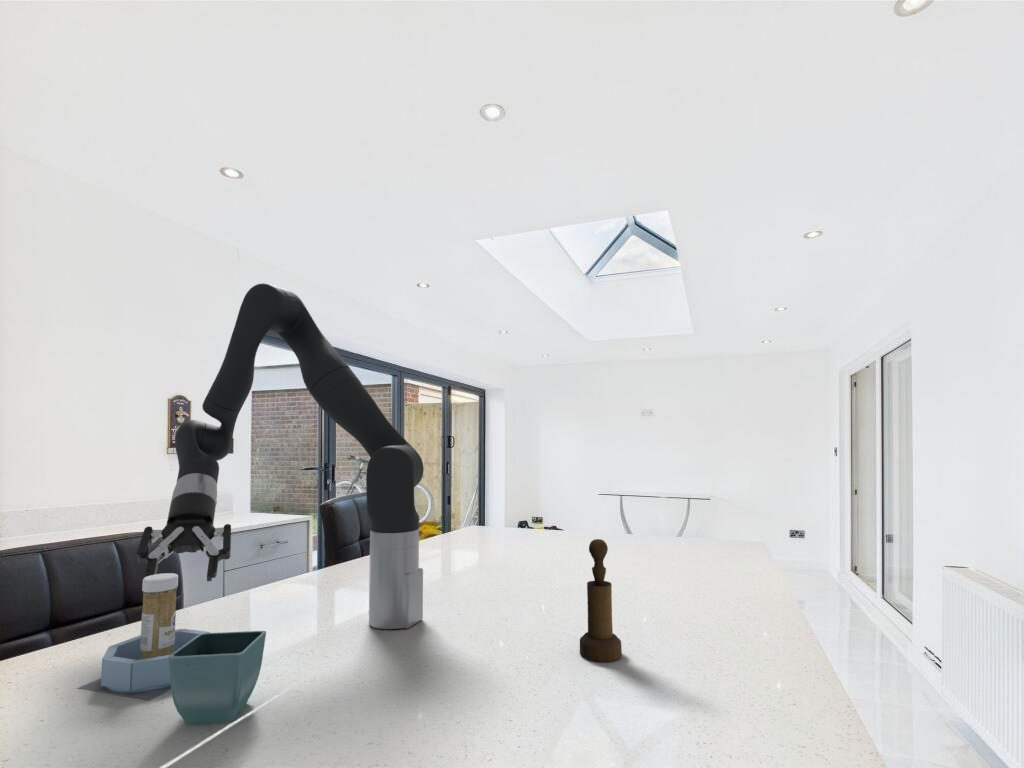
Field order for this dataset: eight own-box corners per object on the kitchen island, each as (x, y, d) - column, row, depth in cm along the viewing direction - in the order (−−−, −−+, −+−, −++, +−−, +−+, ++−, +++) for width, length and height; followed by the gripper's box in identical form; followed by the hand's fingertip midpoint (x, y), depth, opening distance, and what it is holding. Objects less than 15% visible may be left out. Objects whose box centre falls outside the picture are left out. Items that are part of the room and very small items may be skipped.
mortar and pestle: (624, 649, 93) (621, 537, 95) (618, 665, 87) (615, 544, 89) (584, 645, 95) (582, 535, 97) (575, 659, 89) (573, 542, 91)
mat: (230, 663, 89) (230, 660, 89) (148, 703, 75) (148, 700, 75) (166, 654, 93) (166, 651, 93) (77, 690, 79) (77, 687, 79)
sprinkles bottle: (175, 670, 83) (179, 576, 85) (138, 678, 81) (143, 580, 82) (173, 660, 87) (177, 570, 89) (137, 667, 85) (142, 574, 86)
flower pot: (197, 701, 76) (200, 631, 77) (265, 698, 77) (267, 629, 77) (162, 736, 67) (166, 656, 68) (240, 732, 68) (242, 653, 69)
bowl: (228, 661, 88) (229, 634, 89) (151, 699, 76) (153, 666, 76) (163, 652, 92) (164, 626, 93) (80, 686, 80) (81, 656, 80)
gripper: (148, 491, 103) (129, 571, 91) (235, 490, 108) (228, 565, 97) (151, 516, 107) (133, 596, 96) (235, 514, 113) (227, 589, 101)
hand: (180, 580), depth 96 cm, fingers open, 8 cm apart
